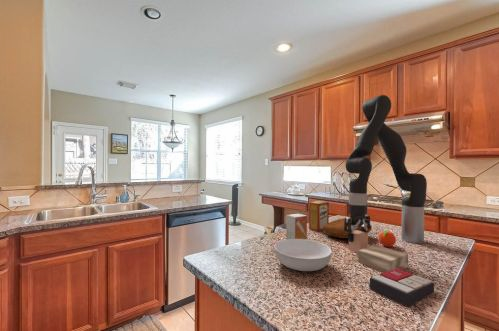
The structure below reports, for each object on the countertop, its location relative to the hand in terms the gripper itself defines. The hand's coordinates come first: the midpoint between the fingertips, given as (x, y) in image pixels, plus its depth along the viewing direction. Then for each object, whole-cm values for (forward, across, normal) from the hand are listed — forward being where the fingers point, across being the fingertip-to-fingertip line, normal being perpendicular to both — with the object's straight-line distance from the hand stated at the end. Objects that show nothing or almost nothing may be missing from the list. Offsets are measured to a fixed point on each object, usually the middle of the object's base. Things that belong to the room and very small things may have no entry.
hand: (357, 240), depth 105 cm
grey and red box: (+5, +18, +28) cm, 34 cm away
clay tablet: (+5, -13, -16) cm, 21 cm away
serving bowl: (+5, +32, 0) cm, 32 cm away
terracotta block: (+4, 0, 0) cm, 5 cm away
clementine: (+4, -16, +3) cm, 17 cm away
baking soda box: (+5, -11, -34) cm, 36 cm away
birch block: (+5, +5, +14) cm, 16 cm away
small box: (+5, +16, -22) cm, 27 cm away
